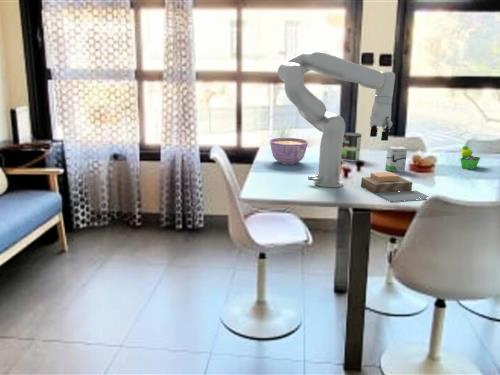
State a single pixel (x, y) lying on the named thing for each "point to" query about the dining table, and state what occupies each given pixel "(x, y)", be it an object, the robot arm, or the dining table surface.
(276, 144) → the bowl of food
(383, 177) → the tile
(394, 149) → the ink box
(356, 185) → the dining table surface
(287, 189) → the dining table surface
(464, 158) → the fruit basket
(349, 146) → the coffee can
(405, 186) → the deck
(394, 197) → the mat
